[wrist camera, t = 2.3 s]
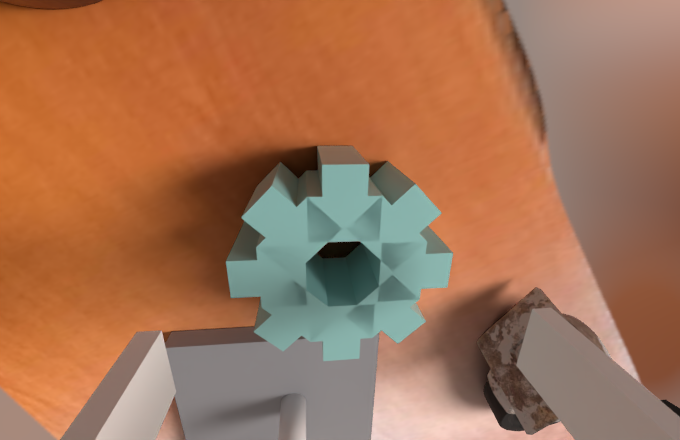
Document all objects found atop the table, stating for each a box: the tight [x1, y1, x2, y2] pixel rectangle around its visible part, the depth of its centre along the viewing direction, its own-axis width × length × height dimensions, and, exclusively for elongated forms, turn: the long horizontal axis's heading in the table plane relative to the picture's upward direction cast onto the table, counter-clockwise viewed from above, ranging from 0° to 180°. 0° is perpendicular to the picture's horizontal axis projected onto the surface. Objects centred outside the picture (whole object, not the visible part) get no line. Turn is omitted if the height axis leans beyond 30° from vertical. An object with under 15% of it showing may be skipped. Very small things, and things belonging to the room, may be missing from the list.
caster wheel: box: [477, 287, 612, 435], centre depth 23 cm, size 7×11×10 cm
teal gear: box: [226, 146, 453, 361], centre depth 18 cm, size 11×11×5 cm
